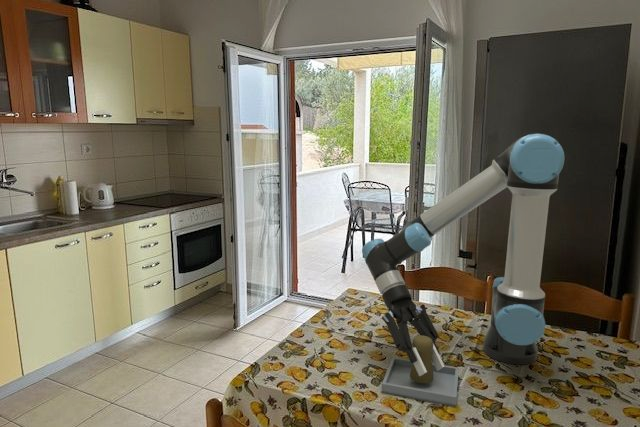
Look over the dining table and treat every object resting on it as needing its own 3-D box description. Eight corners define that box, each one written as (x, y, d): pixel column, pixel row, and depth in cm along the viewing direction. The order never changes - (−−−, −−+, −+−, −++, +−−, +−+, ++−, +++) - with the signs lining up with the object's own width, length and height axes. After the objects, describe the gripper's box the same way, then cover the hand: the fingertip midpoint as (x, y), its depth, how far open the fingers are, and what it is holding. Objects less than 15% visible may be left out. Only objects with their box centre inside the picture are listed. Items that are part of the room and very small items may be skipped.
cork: (434, 384, 111) (435, 343, 110) (409, 382, 113) (411, 341, 111) (432, 372, 117) (434, 333, 116) (409, 370, 119) (411, 331, 117)
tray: (458, 376, 119) (458, 367, 119) (455, 407, 105) (456, 397, 105) (392, 365, 125) (392, 356, 125) (381, 392, 111) (381, 383, 111)
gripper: (412, 291, 130) (450, 367, 118) (360, 301, 121) (396, 385, 110) (425, 278, 124) (466, 357, 113) (372, 288, 116) (411, 375, 104)
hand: (432, 371), depth 111 cm, fingers closed on cork, 5 cm apart
